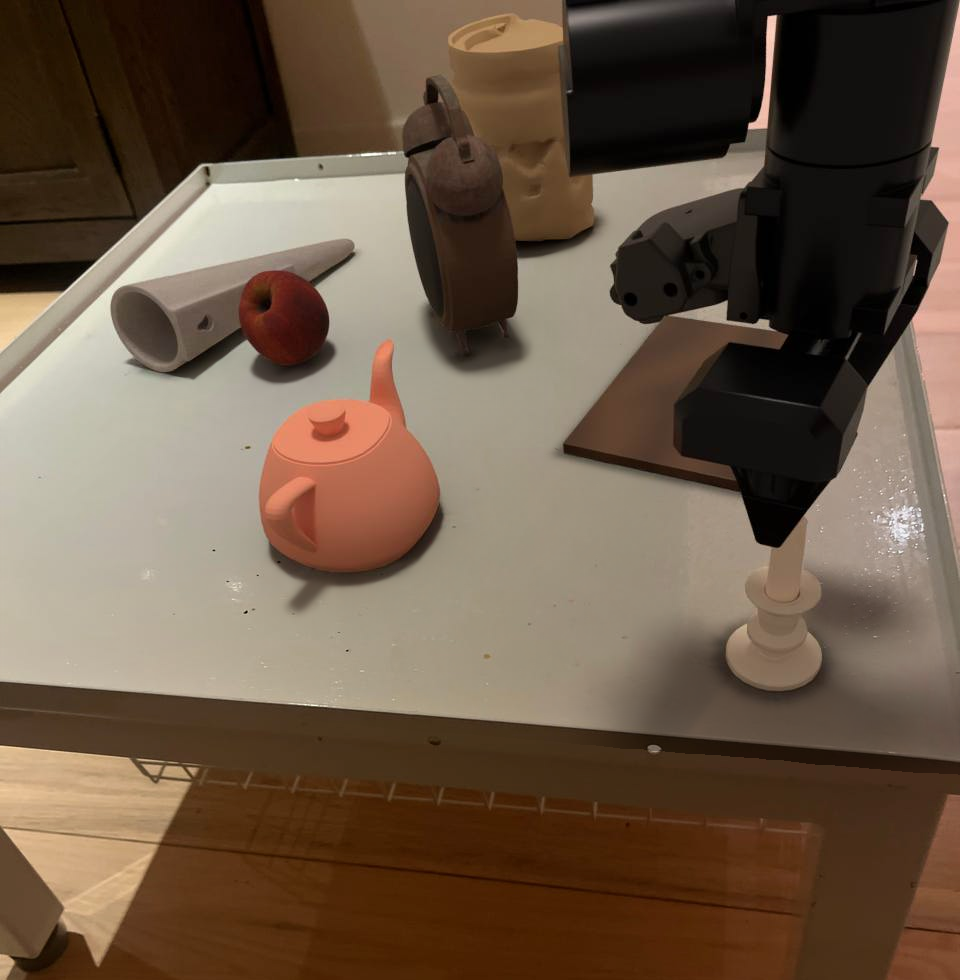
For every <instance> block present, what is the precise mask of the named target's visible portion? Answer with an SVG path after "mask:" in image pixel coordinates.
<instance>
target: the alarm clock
mask: <svg viewBox="0 0 960 980" xmlns="http://www.w3.org/2000/svg"><path fill="white" fill-rule="evenodd" d="M439 95H440V97H441V99H442V101H439ZM422 99H423V104H424V105H422V106H420V107H418V108H416V109H415V110H414V111H412V112H411V113H410V114H409V115H408V117H407V118H406V121H405V122H404V124H403V127H402V135H401V140H402V150H403V156H404V158H407V159H408V160H407V166H406V168H405V171H404V192H405V193H404V194H405V202H406V217H407V225H408V231H409V236H410V241H411V247H412V251H413V257H414V262H415V264H416V268H417V272H418V276H419V279H420V282H421V286H422V287H423V291H424V294H425V297H426V299H427V301H428V303H429V305H430V307H431V309H432V311H433V314H434V316H435V318H436V320H437V322H438V323H439V324H440V325H442V327H443V328H444V329H445V331H446V332H448V333H452V332H453V333H455V336H456V338H457V341H458V343H459V346H460V349H461V355H462V356H463V357H468V355H469V353H470V351H469V349H468V348H467V347H468V346H467V336H466V331H467V330H476V329H477V330H478V329H481V328H485V327H489V326H491V325H494V324H497V323H498V325H499V327H500V329H501V331H502V332H503V338H504V339H505V340H509V339H510V338H511V332H509V329H508V325H507V320H508V319H510V318H511V319H512V318H513V317H514V316H515V315H516V312H517V309H518V302H519V266H518V264H519V262H518V251H517V243H516V241H515V236H514V230H513V224H512V220H511V215H510V211H509V207H508V203H507V200H506V196H505V193H504V189H503V187H502V186H503V175H502V170H501V166H500V162H499V159H498V156H497V154H496V153H495V151H494V150H493V149H492V147H491V146H490V145H489V144H488V143H486V142H485V141H483V140H482V139H480V138H478V137H475V136H474V133H473V129H472V127H471V124H470V122H469V119H468V118H467V116H466V114H465V112H464V111H463V110H462V109H461V107H460V104H459V101H458V98H457V96H456V94H455V92H454V90H453V85H451V83H450V82H449V81H448V80H447V79H446V78H445V76H443V75H441V74H437V75H432V76H428V77H426V79H425V91H424V92H423V96H422Z"/></svg>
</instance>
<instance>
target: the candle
mask: <svg viewBox="0 0 960 980" xmlns="http://www.w3.org/2000/svg"><path fill="white" fill-rule="evenodd" d="M808 524H809V523H808V519H807V517H805V515H804V516H803V517H802V519H801V520H800V522H799V523H798V524H797V526H796V527H795V528H794V530H793V531H792V532H791V534H790V535H789V536H788V538H787V539H786V540H785V542H784V543H783V544H782V546H781V547H779V548H773V547H771V550H770V556H769V564H768V565H764V566H762V567H759V568H757V569H756V570H753V571H752V572H751V574H749V575H748V577H747V579H746V581H745V584H744V592H745V595H746V597H747V599H748V600H749V601H750V603H751V604H753V605H754V606H755V607H757V611H755V613H753V614H752V615H751V616H750V617H749V619H748V621H747V623H745V624H743V625H741V626H740V627H738V628H737V629H735V630H734V631H733V633H732V634H730V636H729V637H728V640H727V643H726V647H725V660H726V663H727V666H728V667H729V669H730V670H731V672H732V674H734V676H736V677H737V678H738V679H739V680H740V681H742V682H743V683H745V684H747V685H750V686H752V687H754V688H756V689H760V690H764V691H769V692H770V691H771V692H784V691H793V690H795V689H798V688H801V687H804V686H805V685H807V684H808V683H810V682H811V681H813V680H814V679H815V678H816V677H817V674H818V673H819V672H820V669H821V666H822V662H823V653H822V652H823V651H822V648H821V646H820V644H819V642H818V640H817V639H816V638H815V636H814V635H813V634H812V633H810V632H809V631H808V626H807V623H806V621H805V620H804V619H803V617H802V613H805V612H808V611H809V610H811V609H812V608H814V607H816V605H817V604H818V603H819V601H820V599H821V597H822V586H821V584H820V581H819V580H818V579H817V578H816V576H815V575H814V574H813V573H811V572H810V571H808V570H807V569H804V568H803V563H804V557H805V548H806V540H807V539H806V537H807V530H808V529H807V527H808Z"/></svg>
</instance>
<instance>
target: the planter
mask: <svg viewBox="0 0 960 980" xmlns="http://www.w3.org/2000/svg"><path fill="white" fill-rule="evenodd" d="M355 245H356V244H355V242H354V240H352V239H350V238H337V239H331V240H327V241H322V242H317V243H312V244H308V245H303V246H299V247H294V248H289V249H284V250H279V251H276V252H271V253H267V254H261V255H258V256H253V257H249V258H245V259H244V258H243V259H240V260H239V259H238V260H235V261H231V262H225V263H221V264H216V265H212V266H207V267H203V268H198V269H194V270H190V271H185V272H181V273H176V274H172V275H165V276H160V277H155V278H152V279H147V280H143V281H139V282H134V283H129V284H125V285H122V286H119V287H118V288H117V289H116V290H115V291H114V293H113V294H112V296H111V299H110V309H109V310H110V317H111V321H112V324H113V328H114V329H115V332H116V334H117V336H118V338H119V340H120V341H121V343H122V344H123V346H124V347H125V349H126V350H127V351H128V352H129V354H131V355H132V356H133V357H134V358H135V359H136V361H138V362H139V363H141V364H142V365H143V366H145V367H146V368H149V369H150V370H153V371H155V372H160V373H169V372H172V371H175V370H176V369H178V368H179V367H181V366H183V365H184V364H186V363H187V362H190V361H192V360H193V359H194V358H196V357H197V356H199V355H200V354H203V353H204V352H205V351H207V350H208V349H210V348H211V347H213V346H214V345H216V344H217V343H219V342H221V341H222V340H224V339H225V338H227V337H228V336H230V335H231V334H232V333H235V332H236V331H237V330H239V329H240V328H241V325H240V320H239V303H240V299H241V295H242V292H243V289H244V287H245V285H246V284H247V282H248V281H249V280H250V279H251V278H252V277H253V276H255V275H257V274H258V273H261V272H264V271H272V270H281V271H288V272H291V273H294V274H296V275H298V276H300V277H302V278H304V279H305V280H307V281H308V282H309V283H310V282H311V281H312V280H314V279H316V278H317V277H319V276H320V275H321V274H323V273H325V272H326V271H328V270H329V269H331V268H332V267H334V266H337V264H340V262H342V261H344V260H345V259H346V258H347V257H349V256H350V255H351V253H352V252H353V251H354V250H355Z"/></svg>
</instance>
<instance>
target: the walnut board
mask: <svg viewBox="0 0 960 980" xmlns="http://www.w3.org/2000/svg"><path fill="white" fill-rule="evenodd" d="M787 337H788V335H787V334H784V333H781V332H778V331H776V330H772V329H771V330H770V329H765V328H756V327H750V326H743V325H736V324H728V323H723V322H714V321H710V320H702V319H694V318H688V317H683V316H682V317H681V316H674V315H668V316H664V318H663V319H662V320H661V321H660V322H658V324H657V326H656V327H654V329H653V330H652V332H651V333H650V334H649V336H648V337H647V338H646V339H645V340H644V341H643V343H642V344H641V345H640V347H639V348H638V349H637V350H636V352H635V353H634V354H633V355H632V357H631V358H630V359H629V360H628V362H627V363H626V364H625V365H624V367H623V368H622V369H621V370H620V371H619V373H618V374H617V375H616V376H615V378H614V379H613V380H612V382H611V383H610V384H609V385H608V386H607V388H605V390H604V392H603V393H602V394H601V395H600V397H599V398H598V399H597V401H596V402H595V403H594V404H593V405H592V407H590V409H589V410H588V411H587V413H586V414H584V416H583V418H582V419H581V420H580V421H579V423H578V424H577V425H576V427H575V428H574V429H573V430H572V431H571V433H570V434H569V435H568V436H567V438H566V439H565V440H564V442H562V450H563V453H565V454H570V455H574V456H577V457H578V456H579V457H583V458H587V459H593V460H596V461H602V462H606V463H611V464H615V465H621V466H624V467H630V468H633V469H639V470H644V471H647V472H651V473H652V472H653V473H657V474H662V475H665V476H670V477H675V478H679V479H685V480H689V481H694V482H699V483H702V484H707V485H712V486H716V487H721V488H726V489H731V490H735V491H739V492H740V489H739V486H738V483H737V481H736V479H735V476H734V474H733V472H732V470H731V468H730V466H727V465H722V464H717V463H712V462H707V461H703V460H698V459H693V458H688V457H683V456H681V455H680V454H679V453H678V451H677V450H676V449H675V447H674V446H673V421H674V403H675V402H676V401H677V399H678V398H679V396H680V395H681V394H682V392H683V391H684V389H685V388H686V386H687V385H688V384H689V382H690V381H691V379H692V378H693V377H694V375H695V374H696V372H697V371H698V369H699V368H700V367H701V365H702V364H703V362H704V361H705V360H706V359H707V358H708V357H710V356H711V355H712V354H714V353H715V352H716V351H718V350H719V349H720V348H722V347H723V346H724V345H726V344H727V343H729V342H733V343H740V344H747V345H753V346H760V347H767V348H774V349H780V348H781V346H782V345H783V343H784V341H785V340H786V338H787Z"/></svg>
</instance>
